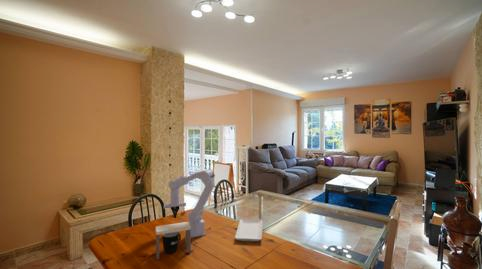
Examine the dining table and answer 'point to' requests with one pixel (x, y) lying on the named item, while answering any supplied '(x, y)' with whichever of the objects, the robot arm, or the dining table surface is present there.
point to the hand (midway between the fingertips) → (174, 217)
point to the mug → (171, 242)
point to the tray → (249, 230)
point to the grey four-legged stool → (174, 228)
